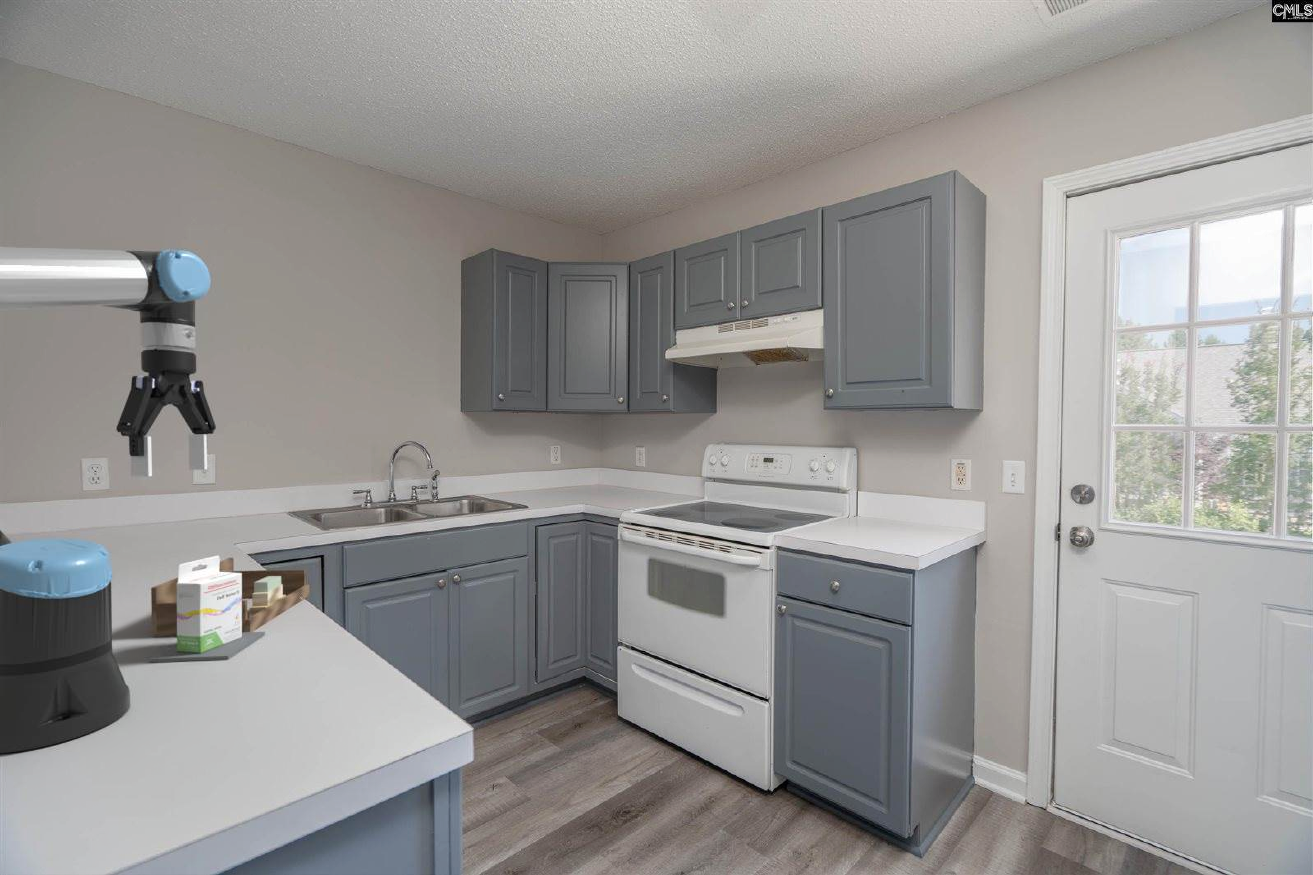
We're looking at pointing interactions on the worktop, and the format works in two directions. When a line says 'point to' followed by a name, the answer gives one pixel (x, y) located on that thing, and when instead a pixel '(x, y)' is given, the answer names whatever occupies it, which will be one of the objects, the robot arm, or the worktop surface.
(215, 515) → the worktop surface
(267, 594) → the block
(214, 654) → the mat
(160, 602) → the rack
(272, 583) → the offcut top
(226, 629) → the ink box
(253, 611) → the offcut bottom
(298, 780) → the worktop surface
